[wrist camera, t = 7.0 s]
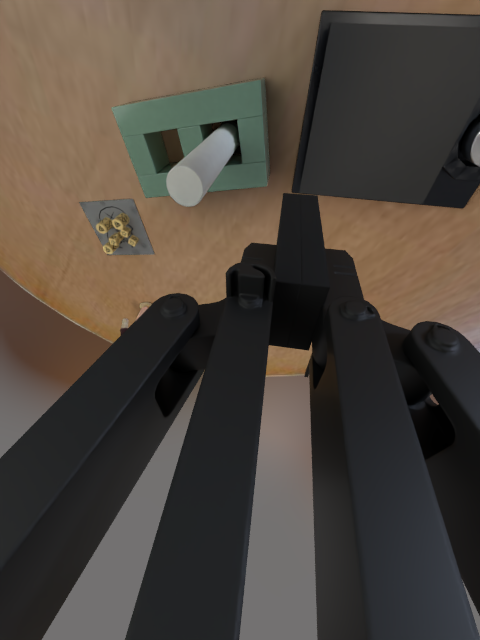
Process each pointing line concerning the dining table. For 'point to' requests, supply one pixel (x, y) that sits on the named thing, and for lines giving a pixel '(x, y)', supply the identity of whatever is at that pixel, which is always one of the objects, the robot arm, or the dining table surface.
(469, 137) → the button
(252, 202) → the dining table surface
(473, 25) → the tablet
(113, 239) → the dice set
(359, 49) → the screen
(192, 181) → the gray cylindrical rod
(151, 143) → the pen stand
